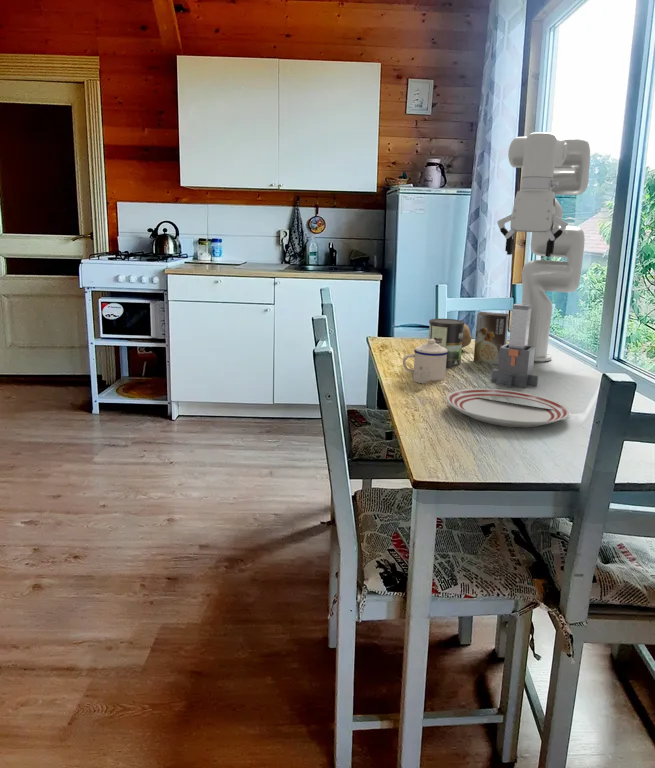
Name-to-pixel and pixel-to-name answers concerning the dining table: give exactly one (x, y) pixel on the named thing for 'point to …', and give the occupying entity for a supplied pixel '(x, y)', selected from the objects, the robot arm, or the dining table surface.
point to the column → (520, 326)
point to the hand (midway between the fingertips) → (528, 255)
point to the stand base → (515, 367)
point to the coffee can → (448, 338)
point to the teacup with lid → (428, 362)
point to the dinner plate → (506, 408)
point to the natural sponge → (466, 336)
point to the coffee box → (490, 336)
